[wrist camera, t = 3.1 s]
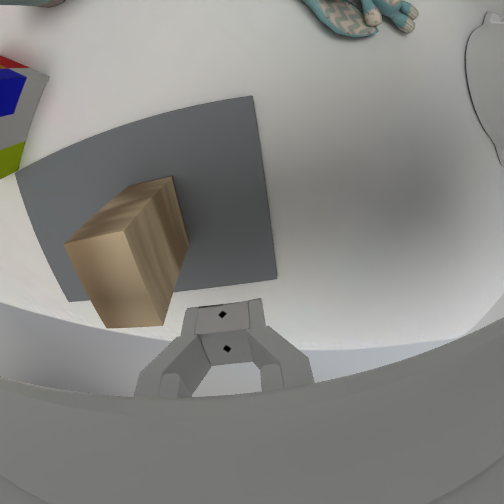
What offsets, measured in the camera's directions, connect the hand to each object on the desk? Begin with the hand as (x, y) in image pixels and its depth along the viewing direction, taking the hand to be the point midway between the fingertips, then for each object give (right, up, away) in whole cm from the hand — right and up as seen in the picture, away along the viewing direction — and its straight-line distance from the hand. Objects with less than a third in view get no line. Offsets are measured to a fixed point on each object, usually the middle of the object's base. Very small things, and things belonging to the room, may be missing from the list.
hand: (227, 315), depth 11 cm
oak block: (-7, +6, +11) cm, 14 cm away
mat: (-10, +5, +12) cm, 16 cm away
